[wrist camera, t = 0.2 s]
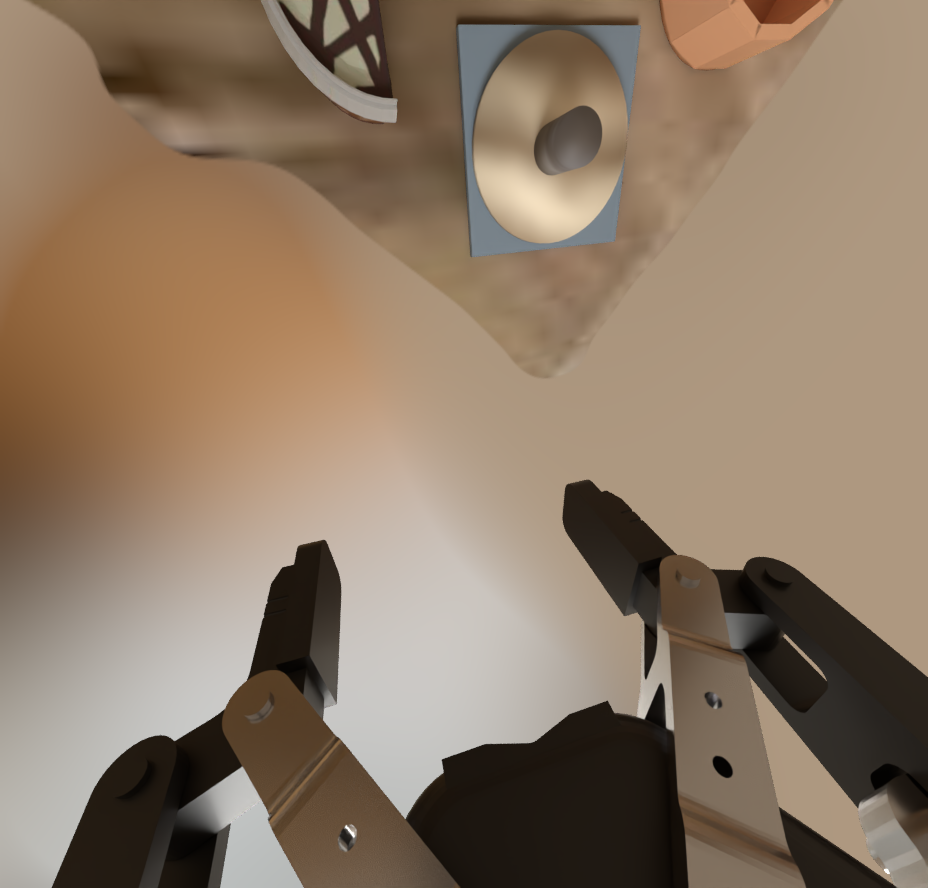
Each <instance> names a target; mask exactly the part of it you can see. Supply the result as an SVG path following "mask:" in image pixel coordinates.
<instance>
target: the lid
mask: <svg viewBox="0 0 928 888" xmlns="http://www.w3.org/2000/svg"><path fill="white" fill-rule="evenodd" d="M627 135H628V117H627V108H626V101H625V97H624V92H623V89H622V86H621V83H620V80H619V77H618V75H617V73H616V71H615V69H614V67H613V65H612V63H611V62H610V60H609V59H608V57H607V56H606V55H605V54H604V52H603V51H602V50H601V49H600V48H599V47H598V46H597V45H596V44H594V43H593V42H592V41H591V40H589V39H588V38H586V37H584V36H582V35H580V34H577V33H574V32H571V31H565V30H551V31H545V32H542V33H539V34H535V35H534V36H532V37H530V38H528V39H526V40H524V41H523V42H522V43H520V44H519V45H518V46H516V47H515V48H514V49H513V50H512V51H511V52H510V53H509V54H508V55H507V56H506V57H505V58H504V59H503V60H502V62H501V63H500V64H499V66H498V67H497V68H496V70H495V71H494V72H493V74H492V76H491V78H490V79H489V81H488V83H487V85H486V87H485V89H484V91H483V94H482V96H481V98H480V102H479V105H478V108H477V111H476V116H475V121H474V126H473V135H472V161H473V170H474V175H475V179H476V183H477V187H478V190H479V193H480V195H481V198H482V200H483V202H484V204H485V206H486V208H487V209H488V211H489V213H490V214H491V216H492V217H493V218H494V219H495V221H496V222H497V223H498V224H499V225H500V226H501V227H502V228H503V229H504V230H505V231H507V232H508V233H510V234H511V235H513V236H515V237H517V238H519V239H521V240H524V241H527V242H532V243H554V242H559V241H562V240H565V239H567V238H569V237H571V236H573V235H575V234H577V233H578V232H580V231H581V230H583V229H584V228H585V227H586V226H587V225H589V224H590V223H591V222H592V221H593V220H594V219H595V218H596V216H597V215H598V214H599V213H600V212H601V210H602V209H603V207H604V206H605V205H606V203H607V201H608V200H609V198H610V196H611V194H612V192H613V190H614V188H615V186H616V184H617V181H618V179H619V176H620V173H621V170H622V166H623V162H624V158H625V153H626V147H627Z"/></svg>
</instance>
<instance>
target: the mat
mask: <svg viewBox="0 0 928 888" xmlns="http://www.w3.org/2000/svg"><path fill="white" fill-rule="evenodd" d="M640 29H641V25H458V26H457V28H456V32H457V48H458V63H459V79H460V95H461V111H462V127H463V143H464V159H465V175H466V191H467V207H468V223H469V239H470V255H471V257H478V256H487V255H496V254H505V253H514V252H523V251H532V250H541V249H550V248H559V247H568V246H577V245H586V244H595V243H604V242H613V241H615V236H616V227H617V219H618V211H619V202H620V194H621V186H622V178H623V169H624V162H623V166H622V170H621V173H620V176H619V179H618V181H617V184H616V186H615V188H614V190H613V192H612V194H611V196H610V198H609V200H608V201H607V203H606V205H605V206H604V207H603V209H602V210H601V212H600V213H599V214H598V215H597V216H596V218H595V219H594V220H593V221H592V222H591V223H590V224H589V225H587V226H586V227H585V228H584V229H583V230H581V231H580V232H578V233H577V234H575V235H573V236H571V237H569V238H567V239H565V240H562V241H559V242H554V243H532V242H527V241H524V240H521V239H519V238H517V237H515V236H513V235H511V234H510V233H508V232H507V231H505V230H504V229H503V228H502V227H501V226H500V225H499V224H498V223H497V222H496V221H495V219H494V218H493V217H492V216H491V214H490V213H489V211H488V209H487V208H486V206H485V204H484V202H483V200H482V198H481V195H480V193H479V190H478V187H477V183H476V179H475V175H474V170H473V161H472V135H473V126H474V121H475V116H476V111H477V108H478V105H479V102H480V98H481V96H482V94H483V91H484V89H485V87H486V85H487V83H488V81H489V79H490V78H491V76H492V74H493V72H494V71H495V70H496V68H497V67H498V66H499V64H500V63H501V62H502V60H503V59H504V58H505V57H506V56H507V55H508V54H509V53H510V52H511V51H512V50H513V49H514V48H515V47H516V46H518V45H519V44H520V43H522V42H523V41H524V40H526V39H528V38H530V37H532V36H534V35H535V34H539V33H542V32H545V31H551V30H565V31H571V32H574V33H577V34H580V35H582V36H584V37H586V38H588V39H589V40H591V41H592V42H593V43H594V44H596V45H597V46H598V47H599V48H600V49H601V50H602V51H603V52H604V54H605V55H606V56H607V57H608V59H609V60H610V62H611V63H612V65H613V67H614V69H615V71H616V73H617V75H618V77H619V80H620V83H621V86H622V89H623V92H624V97H625V101H626V108H627V117H628V128H629V120H630V112H631V103H632V95H633V87H634V78H635V70H636V62H637V54H638V45H639V37H640ZM627 136H628V135H627ZM624 161H625V158H624Z"/></svg>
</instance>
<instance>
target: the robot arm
mask: <svg viewBox="0 0 928 888" xmlns="http://www.w3.org/2000/svg"><path fill="white" fill-rule="evenodd" d="M563 525H564V528H565V531H566V532H567V534H568V536H569V537H570V539H571V540H572V542H573V543H574V545H575V546H576V547H577V549H578V550H579V552H580V553H581V555H582V556H583V557H584V559H585V560H586V562H587V563H588V565H589V566H590V568H591V569H592V570H593V572H594V573H595V575H596V576H597V578H598V579H599V580H600V582H601V583H602V585H603V586H604V588H605V589H606V591H607V592H608V593H609V595H610V596H611V598H612V599H613V601H614V602H615V603H616V605H617V606H618V608H619V609H620V611H621V612H622V613H623V615H624V616H627V615H630V614H634V613H637V612H638V614H639V615H640V617H641V618H642V619H643V620H642V624H641V689H640V696H639V702H638V710H637V717H636V716H632V715H627V714H620V713H614V712H613V710H612V708H611V706H610V704H609V702H608V701H606V702H603V703H600V704H597V705H595V706H592V707H589V708H586V709H583V710H580V711H577V712H575V713H572V714H569V715H568V716H567V717H565V718H564V719H563V720H562V721H561V722H559V723H558V724H557V725H555V726H554V727H553V728H552V729H551V730H549V731H548V732H547V733H545V734H544V735H543V736H542V737H541V738H539V739H538V740H537V741H535V742H533V743H521V744H484V745H481V746H479V747H476V748H473V749H470V750H467V751H465V752H462V753H459V754H456V755H453V756H450V757H448V758H445V759H442V764H443V770H444V773H443V774H441V775H440V776H439V777H438V778H436V779H435V780H434V781H433V782H432V783H431V784H430V785H429V786H428V787H427V788H426V789H425V790H424V792H423V793H422V794H421V796H420V797H419V798H418V799H417V800H416V802H415V804H414V805H413V807H412V809H411V810H410V812H409V813H408V815H407V817H406V819H404V817H403V816H402V815H401V813H400V812H399V811H398V810H397V808H396V807H395V806H394V805H393V804H392V802H391V801H390V800H389V799H388V797H387V796H386V795H385V794H384V793H383V791H382V790H381V789H380V787H379V786H378V785H377V784H376V782H375V781H374V780H373V779H372V777H371V776H370V775H369V774H368V773H367V771H366V770H365V769H364V768H363V766H362V765H361V764H360V763H359V761H357V759H356V758H355V756H354V755H353V754H352V753H351V752H350V750H349V749H348V748H347V747H346V745H345V744H344V743H343V742H342V741H341V740H340V739H339V738H338V737H336V736H335V734H333V732H332V731H331V730H330V728H329V727H328V726H327V725H326V723H325V722H324V721H323V712H324V708H326V707H330V706H333V705H336V704H337V684H338V658H339V633H340V610H341V582H340V576H339V573H338V570H337V567H336V565H335V562H334V560H333V557H332V554H331V552H330V550H329V547H328V544H327V542H326V541H325V540H321V541H317V542H312V543H308V544H303V545H300V546H298V548H297V552H296V558H295V563H294V565H291V566H287V567H283V568H282V569H281V570H280V572H279V573H278V575H277V576H276V578H275V579H274V581H273V582H272V584H271V587H270V592H269V596H268V600H267V602H268V603H267V604H266V608H265V612H264V618H263V620H262V625H261V628H260V633H259V637H258V641H257V645H256V649H255V653H254V657H253V662H252V666H251V670H250V674H249V677H248V679H247V681H246V682H245V683H244V684H243V685H242V686H240V687H239V688H238V690H237V691H236V692H235V693H234V694H233V696H232V697H231V699H230V700H229V702H228V704H227V706H226V708H225V709H224V710H223V711H222V712H221V713H219V714H218V715H217V716H215V717H214V718H212V719H211V720H209V721H207V722H206V723H204V724H202V725H201V726H199V727H197V728H196V729H194V730H192V731H191V732H189V733H188V734H186V735H184V736H183V737H181V738H179V739H178V740H176V741H173V740H172V739H171V738H169V737H167V736H162V735H160V736H153V737H149V738H147V739H145V740H142V741H140V742H138V743H137V744H135V745H133V746H132V747H131V748H129V749H128V750H126V751H125V752H124V753H123V754H122V755H120V757H118V758H117V759H116V760H115V761H114V762H113V763H112V764H111V766H110V767H109V768H108V769H107V770H106V771H105V773H104V774H103V775H102V777H101V778H100V780H99V781H98V783H97V785H96V786H95V788H94V790H93V792H92V794H91V796H90V799H89V801H88V803H87V806H86V808H85V810H84V813H83V815H82V818H81V820H80V822H79V825H78V827H77V829H76V832H75V834H74V836H73V839H72V841H71V843H70V846H69V848H68V850H67V853H66V855H65V858H64V860H63V862H62V865H61V867H60V870H59V872H58V874H57V877H56V879H55V881H54V884H53V886H52V888H220V884H221V878H222V872H223V866H224V861H225V855H226V849H227V843H228V837H229V831H230V825H231V822H233V821H234V820H235V819H237V818H238V817H239V816H241V815H242V814H243V813H245V812H246V811H247V810H249V809H250V808H251V807H253V806H254V805H256V804H257V803H258V802H260V801H261V800H262V801H263V803H264V805H265V807H266V809H267V811H268V814H269V817H268V821H269V824H270V826H271V828H272V830H273V832H274V834H275V836H276V838H277V840H278V842H279V844H280V845H281V847H282V849H283V851H284V853H285V854H286V856H287V858H288V860H289V862H290V863H291V865H292V867H293V869H294V871H295V872H296V874H297V876H298V878H299V880H300V881H301V883H302V885H303V887H304V888H928V677H927V676H925V675H924V674H923V673H922V672H921V671H919V670H918V669H917V668H916V667H915V666H913V665H912V664H911V663H910V662H909V661H907V660H906V659H905V658H904V657H903V656H901V655H900V654H899V653H898V652H896V651H895V650H894V649H893V648H892V647H890V646H889V645H888V644H887V643H885V642H884V641H883V640H882V639H881V638H879V637H878V636H877V635H876V634H875V633H873V632H872V631H871V630H870V629H868V628H867V627H866V626H865V625H864V624H862V623H861V622H860V621H859V620H857V619H856V618H855V617H854V616H853V615H851V614H850V613H849V612H848V611H847V610H845V609H844V608H843V607H842V606H841V605H839V604H838V603H837V602H836V601H834V600H833V599H832V598H831V597H829V596H828V595H827V594H826V593H825V592H823V591H822V590H821V589H820V588H819V587H817V586H816V585H815V584H814V583H812V582H811V581H810V580H809V579H808V578H806V577H805V576H804V575H803V574H802V573H800V572H799V571H798V570H796V569H795V568H793V567H792V566H790V565H788V564H786V563H784V562H781V561H779V560H776V559H773V558H767V557H755V558H752V559H750V560H749V561H747V563H746V565H745V567H744V569H743V570H715V569H710V568H709V567H707V566H706V565H705V564H703V563H702V562H700V561H698V560H696V559H694V558H691V557H688V556H683V555H677V554H676V553H674V551H673V550H671V548H670V547H669V546H668V545H667V544H666V543H664V541H662V539H661V538H660V537H659V536H658V535H657V534H656V533H655V532H654V531H653V530H652V529H651V528H650V527H649V526H648V525H647V524H646V523H645V522H644V521H643V520H642V521H641V519H640V517H639V516H638V515H637V514H636V513H635V512H632V509H631V508H630V507H629V506H628V505H627V504H626V503H625V502H624V501H623V500H622V499H621V498H619V497H617V496H615V495H614V494H612V493H610V492H608V491H603V492H601V491H600V490H599V489H598V488H597V487H596V486H595V484H594V483H593V482H591V481H590V480H584V481H579V482H575V483H571V484H567V485H566V488H565V496H564V506H563ZM784 634H786V635H787V636H788V637H789V638H790V639H791V640H792V641H793V642H794V643H795V644H796V645H797V646H798V647H799V648H800V649H801V650H802V651H803V652H804V653H805V654H806V655H807V656H808V657H809V658H810V659H811V660H812V661H813V662H814V663H815V664H816V665H817V666H818V667H819V668H820V670H821V671H822V672H823V674H824V675H825V677H826V680H827V681H826V680H825V679H824V678H823V677H822V676H821V675H820V674H819V673H818V672H817V671H816V670H815V669H814V668H813V667H812V666H811V665H810V664H809V663H808V662H807V661H806V660H805V659H804V658H803V657H802V656H801V655H800V654H799V653H798V651H797V650H796V649H795V648H793V646H792V645H790V643H789V642H788V641H787V640H786V639H784V637H783V636H784ZM749 676H750V677H751V678H752V680H753V681H754V682H755V683H756V684H757V686H758V687H759V688H760V689H761V690H762V692H763V693H764V694H765V695H766V697H767V698H768V699H769V700H770V701H771V703H772V704H773V705H774V706H775V708H776V709H777V710H778V711H779V713H780V714H781V715H782V716H783V717H784V719H785V720H786V721H787V722H788V723H789V725H790V726H791V727H792V728H793V729H794V731H795V732H796V733H797V734H798V736H799V737H800V738H801V739H802V741H803V742H804V743H805V744H806V745H807V747H808V748H809V749H810V750H811V752H812V753H813V754H814V755H815V756H816V758H817V759H818V760H819V761H820V762H821V764H822V765H823V766H824V767H825V769H826V770H827V771H828V772H829V773H830V775H831V776H832V777H833V778H834V780H835V781H836V782H837V783H838V784H839V786H840V787H841V788H842V789H843V790H844V792H845V793H846V794H847V795H848V797H849V798H850V799H851V800H852V801H853V803H854V804H855V805H856V806H857V808H858V814H859V820H860V823H861V826H862V829H863V831H864V833H865V835H866V837H867V839H866V845H867V848H868V850H869V852H870V854H871V856H872V857H873V859H874V860H875V861H876V863H877V864H878V865H879V866H880V867H881V868H882V869H883V870H885V871H886V872H887V873H889V874H890V877H891V879H892V881H893V883H894V885H893V884H891V883H890V882H889V881H887V880H886V879H884V878H883V877H881V876H880V875H878V874H877V873H875V872H874V871H872V870H871V869H870V868H868V867H867V866H865V865H864V864H862V863H861V862H859V861H858V860H856V859H855V858H853V857H852V856H850V855H849V854H847V853H846V852H845V851H843V850H842V849H840V848H839V847H837V846H836V845H834V844H833V843H831V842H830V841H828V840H827V839H825V838H824V837H823V836H821V835H820V834H818V833H817V832H815V831H814V830H812V829H811V828H809V827H808V826H806V825H805V824H803V823H802V822H800V821H799V820H797V819H796V818H795V817H793V816H791V815H790V814H788V813H787V812H786V811H784V810H783V809H781V808H780V807H778V802H777V798H776V793H775V789H774V784H773V780H772V776H771V771H770V767H769V762H768V758H767V753H766V748H765V744H764V740H763V735H762V731H761V726H760V722H759V717H758V713H757V708H756V704H755V699H754V695H753V690H752V686H751V682H750V677H749Z"/></svg>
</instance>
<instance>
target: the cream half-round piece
mask: <svg viewBox="0 0 928 888" xmlns="http://www.w3.org/2000/svg"><path fill="white" fill-rule="evenodd" d="M261 2H262V4H263V7H264V9H265V11H266V14H267V16H268V18H269V20H270V23H271V25H272V27H273V28H274V30H275V32H276V34H277V35H278V37H279V39H280V41H281V43H282V44H283V46H284V48H285V49H286V51H287V52H288V53H289V55H290V56H291V58H292V59H293V60H294V62H295V63H296V65H297V66H298V67H299V69H300V70H301V71H302V72H303V73H304V74H305V75H306V77H307V78H308V79H309V80H310V81H311V82H312V83H313V84H314V85H315V86H316V87H317V88H318V89H319V90H320V91H322V92H323V94H324V95H325V96H326V97H327V98H328V99H329V100H330V101H331V102H332V103H333V104H334V105H335V106H337V107H338V108H339V109H340V110H341V111H343V112H345V113H346V114H348V115H349V116H351V117H353V118H355V119H358V120H360V121H363V122H368V123H372V124H384V122H395V123H396V118H397V99H393V95H392V88H391V80H390V76H389V70H388V64H387V57H386V50H385V43H384V35H383V29H382V22H381V15H380V8H379V1H378V0H261Z"/></svg>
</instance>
